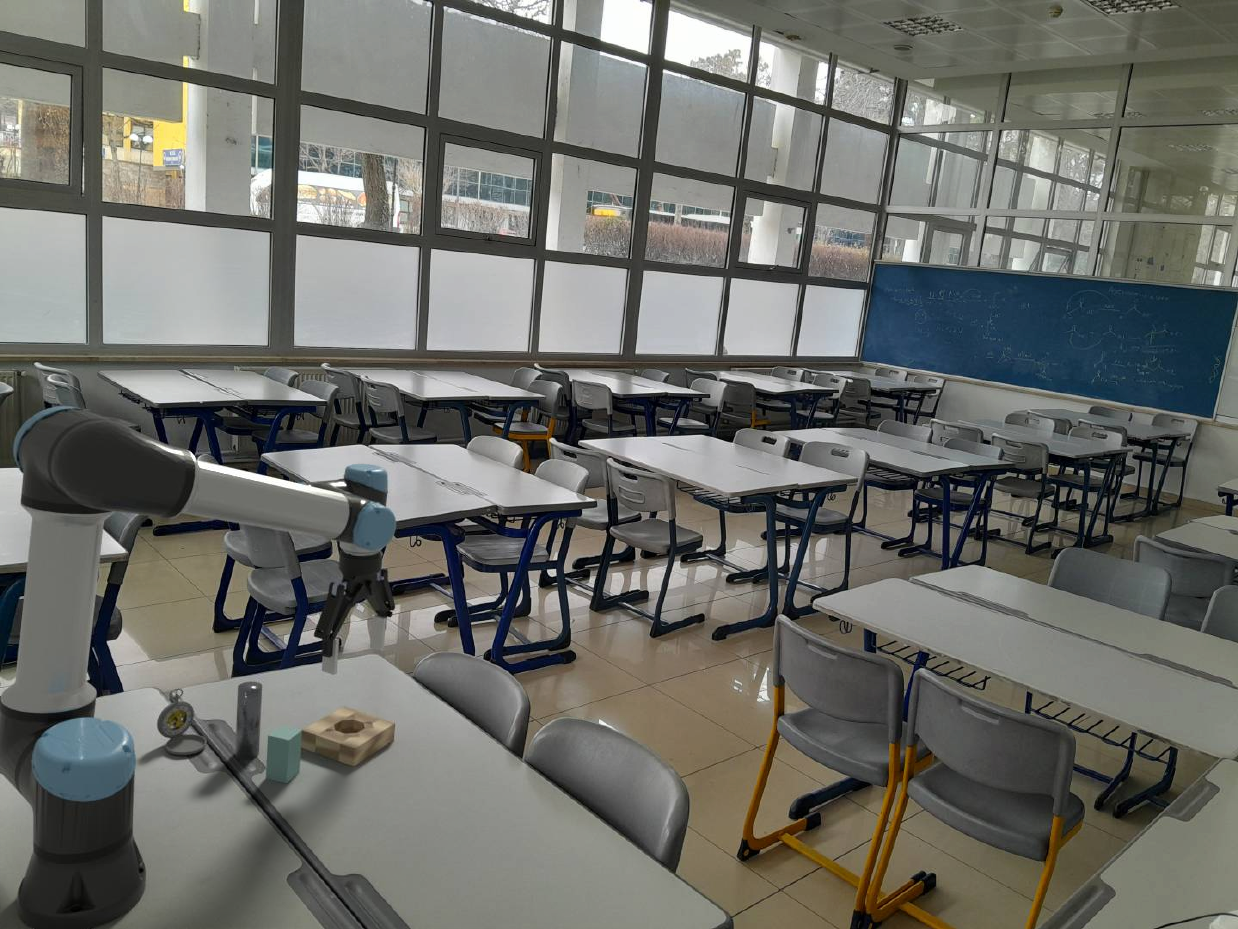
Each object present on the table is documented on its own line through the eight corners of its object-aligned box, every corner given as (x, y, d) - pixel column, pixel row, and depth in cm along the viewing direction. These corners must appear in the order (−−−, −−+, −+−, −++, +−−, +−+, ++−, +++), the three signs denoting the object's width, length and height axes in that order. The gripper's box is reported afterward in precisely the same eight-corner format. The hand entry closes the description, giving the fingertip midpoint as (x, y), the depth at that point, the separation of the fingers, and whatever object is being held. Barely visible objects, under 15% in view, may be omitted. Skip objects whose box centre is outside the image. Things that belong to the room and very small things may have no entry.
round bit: (247, 761, 163) (250, 693, 161) (229, 755, 165) (232, 687, 163) (263, 752, 167) (267, 685, 165) (246, 746, 169) (249, 679, 166)
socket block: (353, 766, 166) (354, 748, 165) (300, 747, 170) (301, 730, 170) (393, 740, 177) (395, 723, 176) (343, 722, 181) (344, 706, 181)
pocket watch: (195, 759, 162) (197, 706, 160) (148, 754, 162) (149, 701, 160) (216, 737, 170) (218, 687, 169) (171, 732, 170) (172, 681, 169)
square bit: (286, 783, 158) (289, 740, 157) (265, 778, 159) (267, 735, 158) (299, 772, 162) (301, 730, 161) (279, 767, 163) (281, 725, 161)
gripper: (332, 570, 154) (324, 688, 158) (418, 540, 177) (410, 644, 181) (296, 560, 157) (290, 677, 161) (386, 532, 180) (378, 635, 183)
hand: (353, 660), depth 171 cm, fingers open, 13 cm apart
